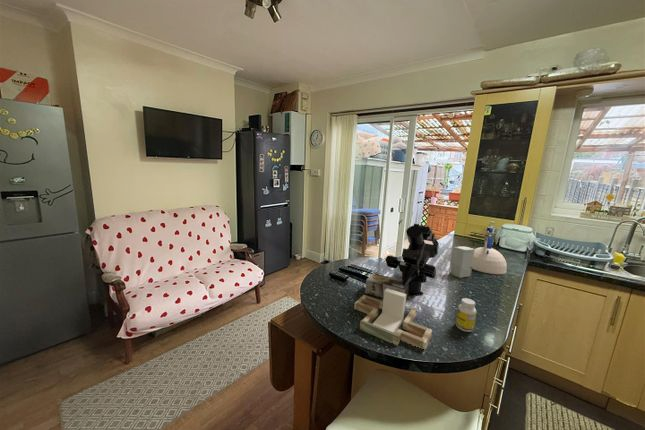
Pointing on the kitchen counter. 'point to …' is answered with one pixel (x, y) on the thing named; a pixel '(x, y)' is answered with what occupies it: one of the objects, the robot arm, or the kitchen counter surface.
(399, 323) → the bookend
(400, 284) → the coffee box
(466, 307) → the supplement bottle
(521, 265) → the kitchen counter surface
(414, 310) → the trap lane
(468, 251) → the skincare box
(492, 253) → the pale pink dome
